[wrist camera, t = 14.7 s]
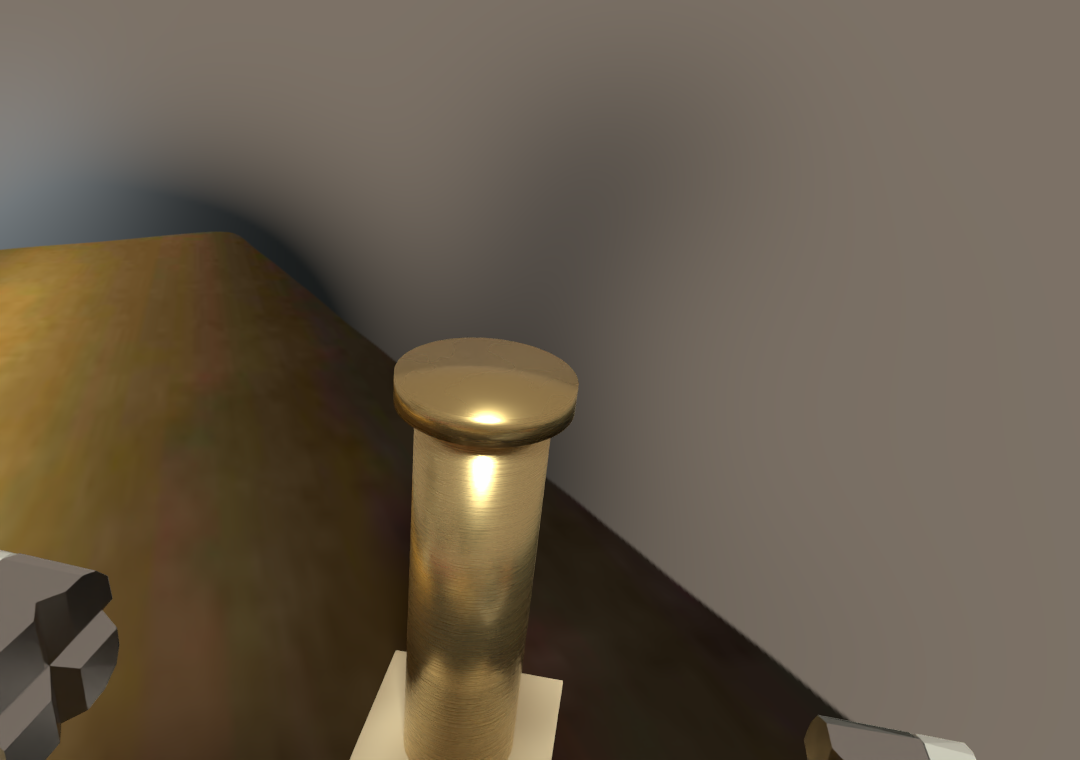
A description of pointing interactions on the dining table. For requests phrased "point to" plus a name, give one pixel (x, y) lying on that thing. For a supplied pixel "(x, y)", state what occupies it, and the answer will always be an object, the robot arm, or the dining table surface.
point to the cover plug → (474, 533)
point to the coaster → (535, 727)
